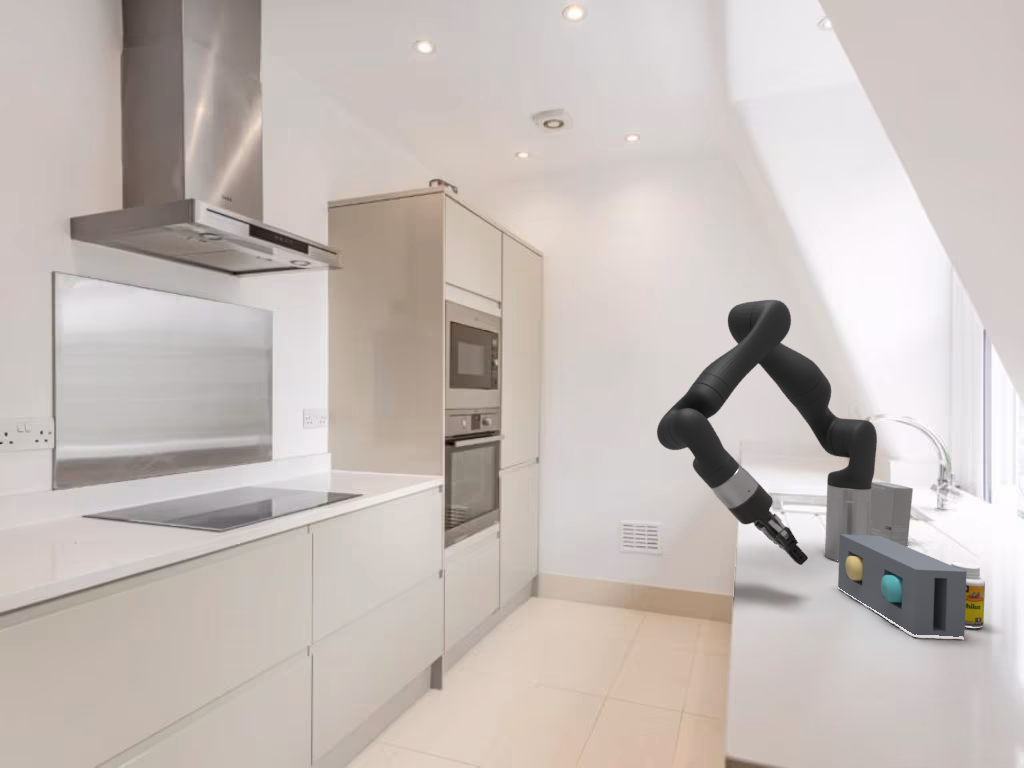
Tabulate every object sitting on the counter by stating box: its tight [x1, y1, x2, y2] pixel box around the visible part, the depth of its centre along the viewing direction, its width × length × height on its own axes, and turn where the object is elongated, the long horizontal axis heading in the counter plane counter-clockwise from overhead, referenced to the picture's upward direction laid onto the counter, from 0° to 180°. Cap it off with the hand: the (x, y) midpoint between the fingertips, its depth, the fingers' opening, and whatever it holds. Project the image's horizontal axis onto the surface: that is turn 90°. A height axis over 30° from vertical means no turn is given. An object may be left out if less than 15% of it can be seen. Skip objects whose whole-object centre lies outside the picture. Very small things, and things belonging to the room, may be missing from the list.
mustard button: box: [845, 556, 863, 580], centre depth 117 cm, size 3×4×4 cm
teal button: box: [881, 575, 903, 603], centre depth 105 cm, size 3×4×4 cm
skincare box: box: [870, 481, 914, 547], centre depth 165 cm, size 8×7×16 cm
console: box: [837, 534, 966, 638], centre depth 111 cm, size 8×24×11 cm, turn 179°
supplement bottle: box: [950, 561, 986, 627], centre depth 106 cm, size 6×6×10 cm
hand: (802, 560), depth 117 cm, fingers closed
